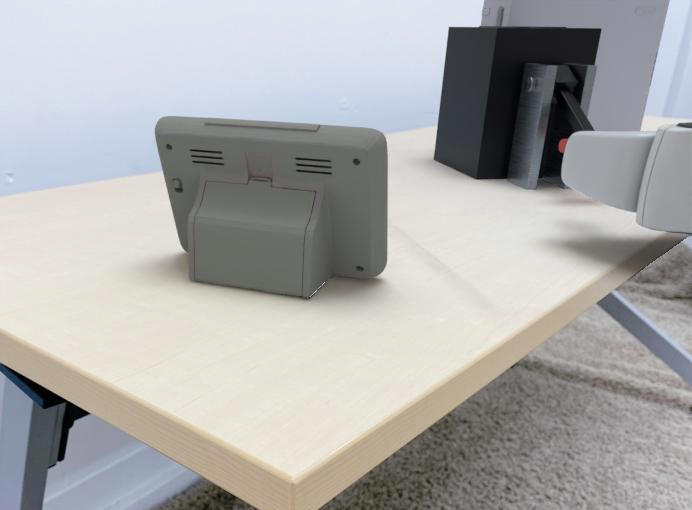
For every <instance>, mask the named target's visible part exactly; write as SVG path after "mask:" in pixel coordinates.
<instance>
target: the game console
mask: <svg viewBox="0 0 692 510" xmlns="http://www.w3.org/2000/svg"><path fill="white" fill-rule="evenodd" d="M670 1H671V0H483V4H482V5H483V6H482V9H481V22H480V25H479V26H511V27H513V26H531V27H567V28H602V30H601V35H600V40H599V46H598V51H597V56H596V61H595V66H597V71H596V76H595V81H594V86H593V92H592V97H591V102H590V107H589V112H588V117H587V118H588V120H589V122H590V123H591V125H592V127H593V128H594V130H595V131H642V130H641V129H642V124H643V120H644V115H645V111H646V106H647V103H648V100H649V99H648V98H649V94H650V91H651V85H652V80H653V75H654V72H655V68H656V64H657V58H658V54H659V50H660V46H661V41H662V37H663V31H664V28H665V23H666V19H667V15H668V10H669V6H670Z"/></svg>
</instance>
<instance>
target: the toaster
mask: <svg viewBox="0 0 692 510" xmlns="http://www.w3.org/2000/svg"><path fill="white" fill-rule="evenodd" d="M601 30H602V28H567V27H531V26H513V27H511V26H480V25H479V26H448V29H447V31H448V32H447V40H446V49H445V57H444V66H443V74H442V84H441V92H440V100H439V109H438V110H439V111H438V116H437V117H438V118H437V127H436V134H435V135H436V137H435V145H434V152H433V160H434V162H437V163H439V164H442V165H444V166H446V167H448V168H450V169H453V170H455V171H456V172H458V173H461V174H463V175H465V176H467V177H469V178H471V179H474V180H476V181H477V180H479V181H481V180H507V175H508V169H509V163H510V156H511V150H512V144H513V137H514V131H515V125H516V118H517V112H518V106H519V99H520V93H521V87H522V80H523V74H524V68H525V64H526V63H535V64H545V65H563V63H574V64H584V65H595V61H596V56H597V51H598V46H599V40H600V35H601ZM555 105H556V103H551V107H550V112H549V118H548V124H547V129H546V135H545V141H544V147H543V152H542V158H541V164H540V169H539V175H538V179H542V178H543V173H544V167H545V161H546V156H547V150H548V145H549V139H550V133H551V128H552V122H553V116H554V111H555Z"/></svg>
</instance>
